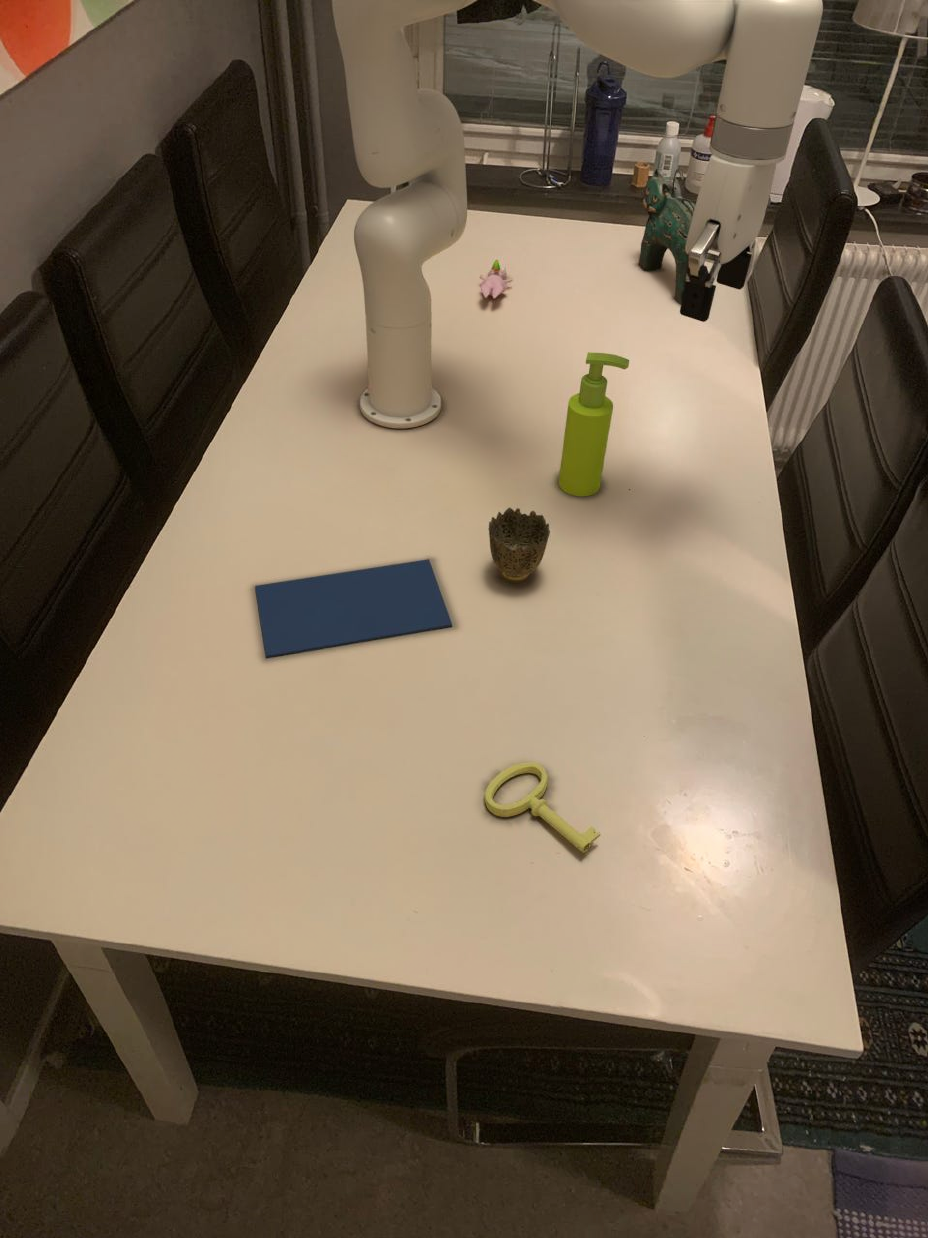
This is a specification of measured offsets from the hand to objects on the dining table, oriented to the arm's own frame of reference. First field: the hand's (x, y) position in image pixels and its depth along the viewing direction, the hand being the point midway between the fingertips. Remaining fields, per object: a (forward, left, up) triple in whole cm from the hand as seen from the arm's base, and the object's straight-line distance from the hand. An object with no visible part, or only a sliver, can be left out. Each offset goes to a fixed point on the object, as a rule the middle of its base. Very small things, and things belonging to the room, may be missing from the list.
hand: (712, 300), depth 102 cm
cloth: (+7, -44, -31) cm, 54 cm away
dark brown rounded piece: (+6, -23, -31) cm, 39 cm away
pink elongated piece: (-69, -4, -31) cm, 75 cm away
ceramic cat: (-67, +30, -31) cm, 79 cm away
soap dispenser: (-10, -8, -31) cm, 34 cm away
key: (+40, -31, -31) cm, 60 cm away
